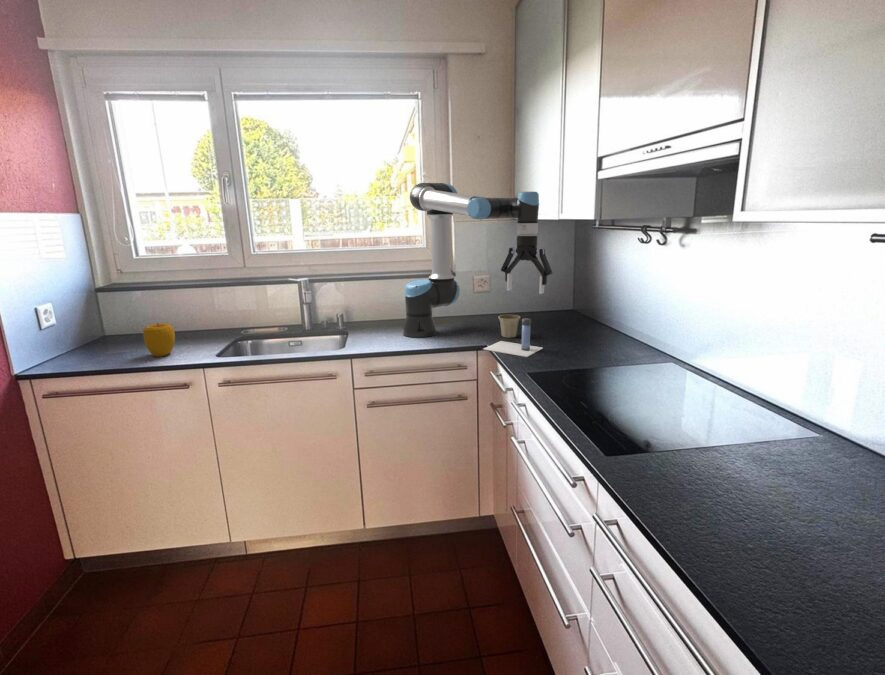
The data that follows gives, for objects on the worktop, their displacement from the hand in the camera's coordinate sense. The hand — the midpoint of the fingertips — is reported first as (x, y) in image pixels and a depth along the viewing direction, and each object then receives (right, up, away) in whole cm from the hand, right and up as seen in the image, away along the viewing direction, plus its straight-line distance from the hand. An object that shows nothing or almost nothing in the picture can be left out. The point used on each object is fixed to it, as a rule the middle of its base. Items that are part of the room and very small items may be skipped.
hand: (525, 291), depth 183 cm
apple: (-142, -25, +6) cm, 144 cm away
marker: (+1, -22, +2) cm, 22 cm away
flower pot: (-3, -17, +24) cm, 30 cm away
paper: (-4, -22, +5) cm, 23 cm away
